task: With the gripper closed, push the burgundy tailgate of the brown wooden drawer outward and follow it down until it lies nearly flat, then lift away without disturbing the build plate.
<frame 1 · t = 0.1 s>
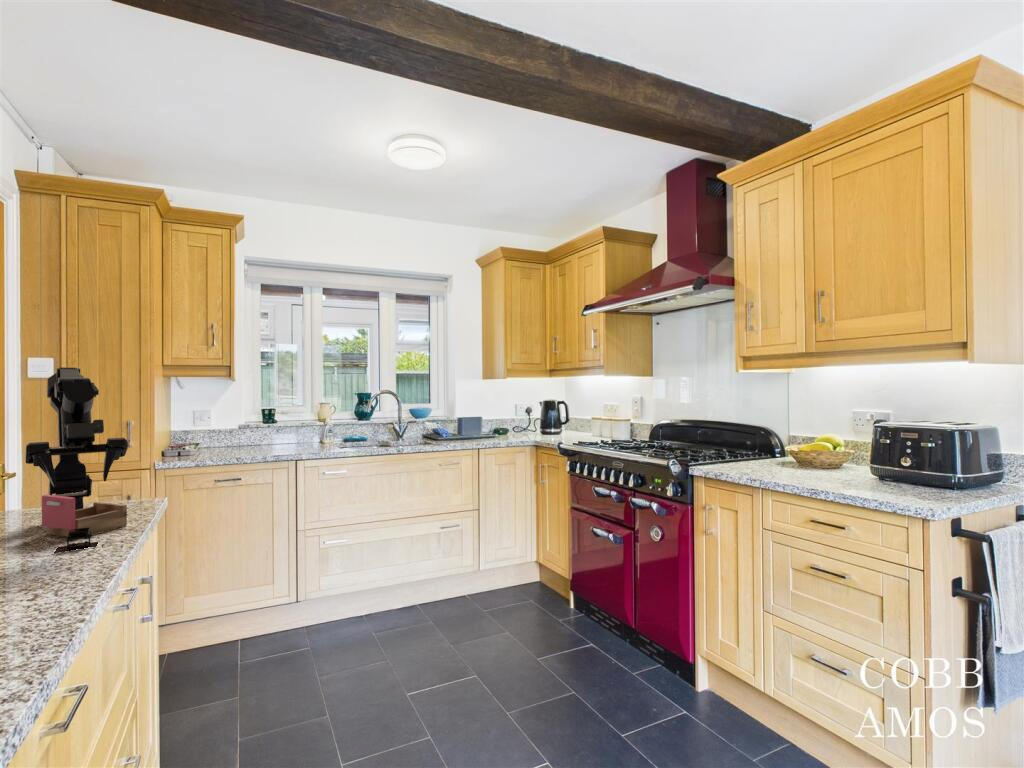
hand: (80, 483, 126), 15 cm above the countertop, tool tilted 30°, fingers open, 9 cm apart
tailgate: (56, 512, 133), point 6 cm above the countertop, hinge at 0.0°
brown wooden drawer: (88, 529, 140), on the countertop
build plate: (79, 550, 126), on the countertop
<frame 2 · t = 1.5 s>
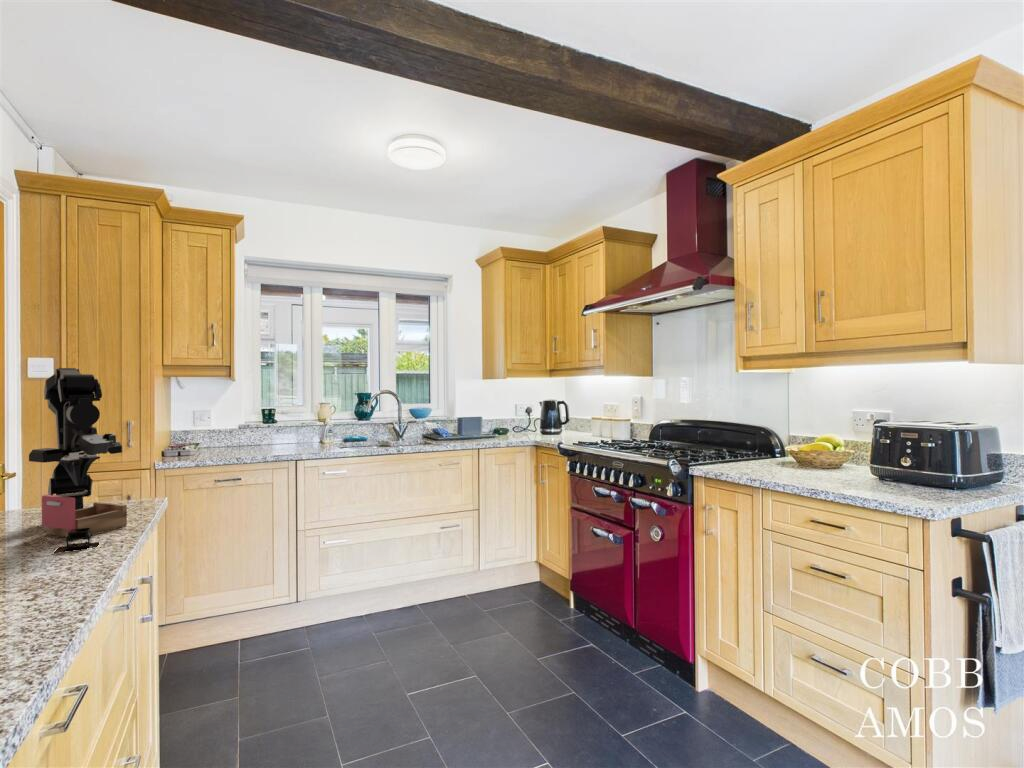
hand: (78, 485, 138), 12 cm above the countertop, tool pointing down, fingers closed
nothing on the countertop moved.
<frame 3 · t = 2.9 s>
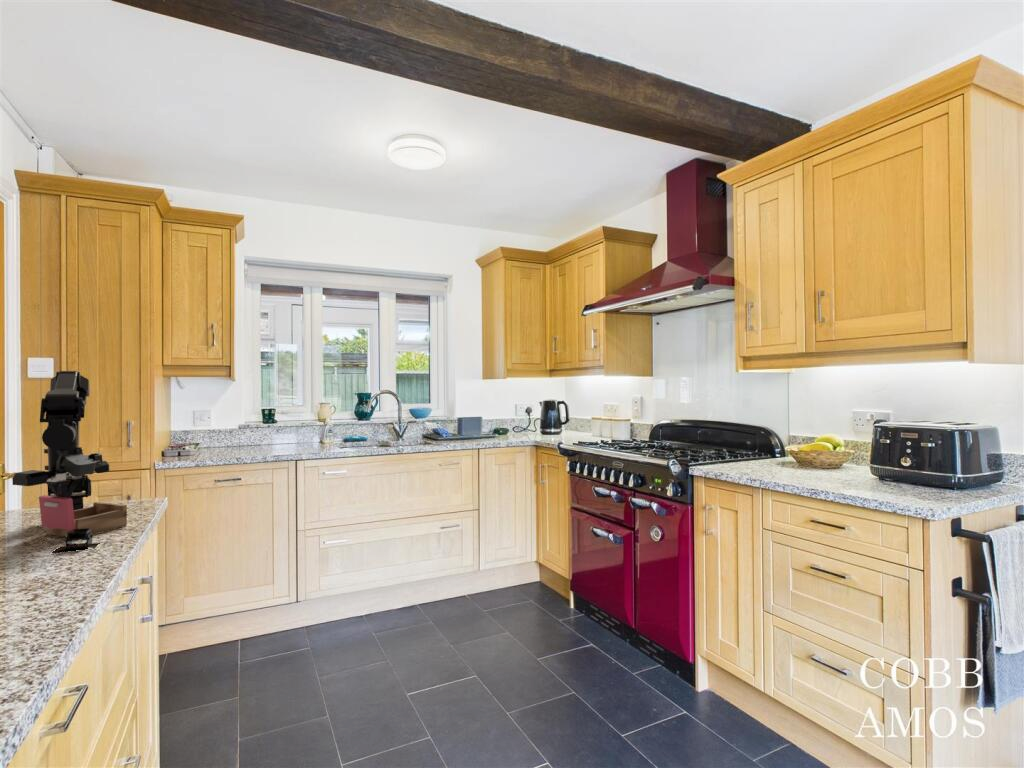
hand: (64, 506, 135), 7 cm above the countertop, tool pointing down, fingers closed
tailgate: (55, 513, 133), point 6 cm above the countertop, hinge at 5.1°, touching gripper
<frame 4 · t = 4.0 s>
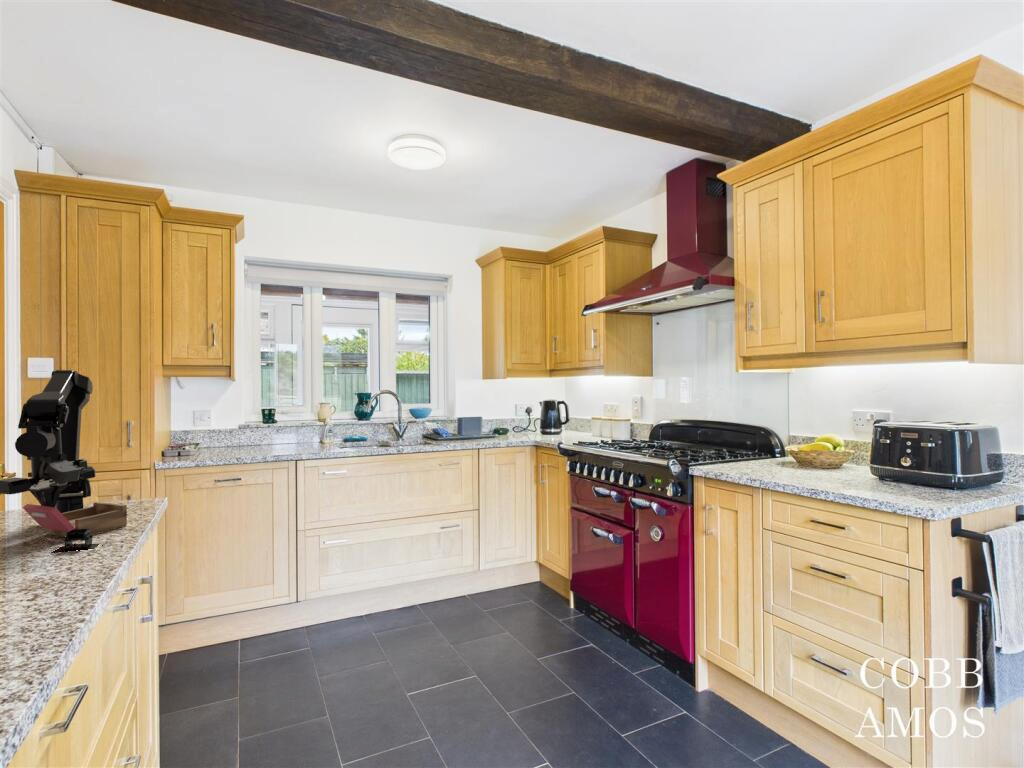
hand: (49, 514, 132), 6 cm above the countertop, tool pointing down, fingers closed, pressing on tailgate
tailgate: (47, 519, 131), point 5 cm above the countertop, hinge at 35.2°, touching gripper
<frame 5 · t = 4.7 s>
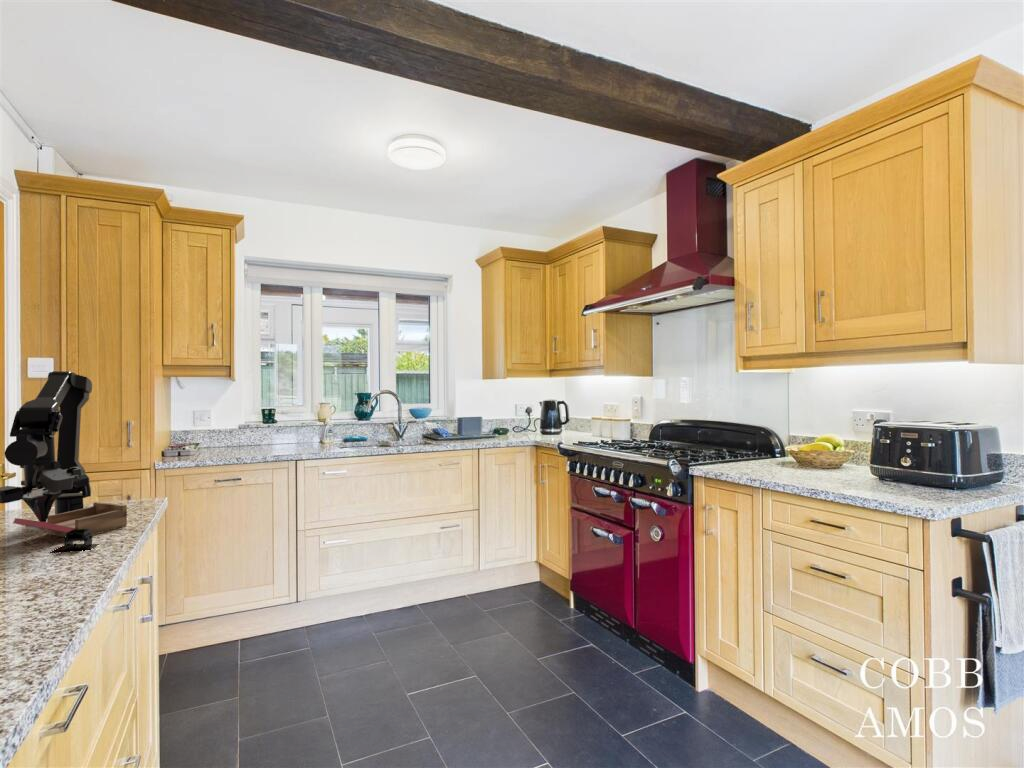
hand: (42, 522, 130), 4 cm above the countertop, tool pointing down, fingers closed, pressing on tailgate
tailgate: (43, 527, 130), point 3 cm above the countertop, hinge at 64.0°, touching gripper
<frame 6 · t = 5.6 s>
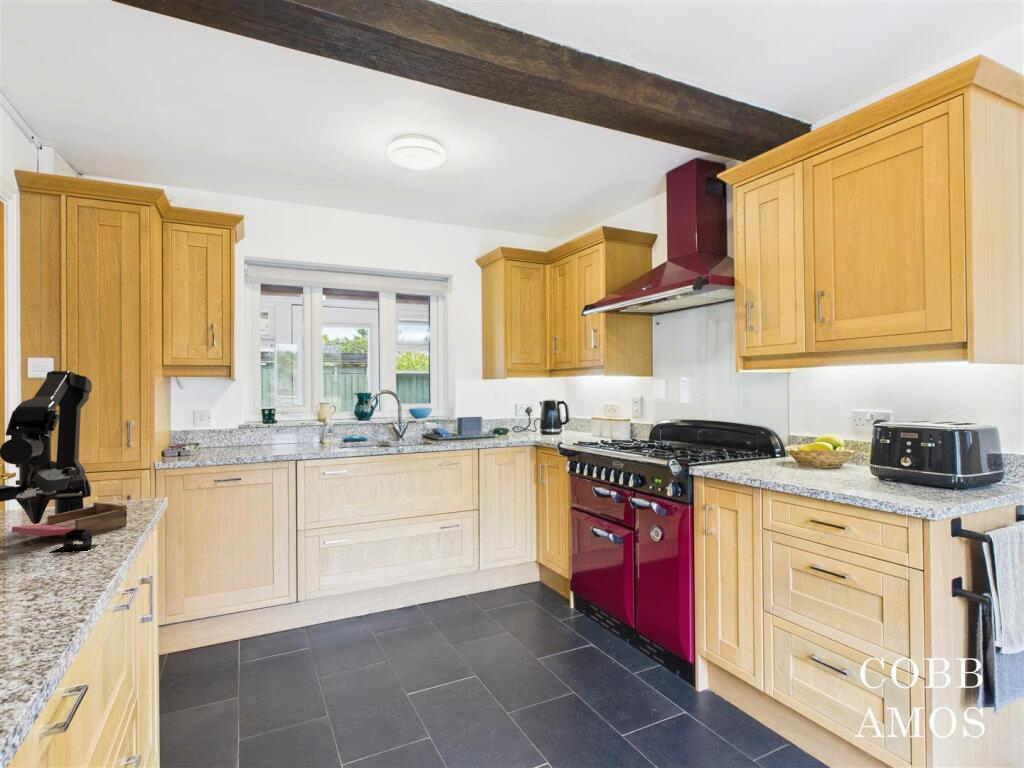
hand: (36, 523, 129), 5 cm above the countertop, tool pointing down, fingers closed
tailgate: (43, 531, 130), point 2 cm above the countertop, hinge at 79.3°
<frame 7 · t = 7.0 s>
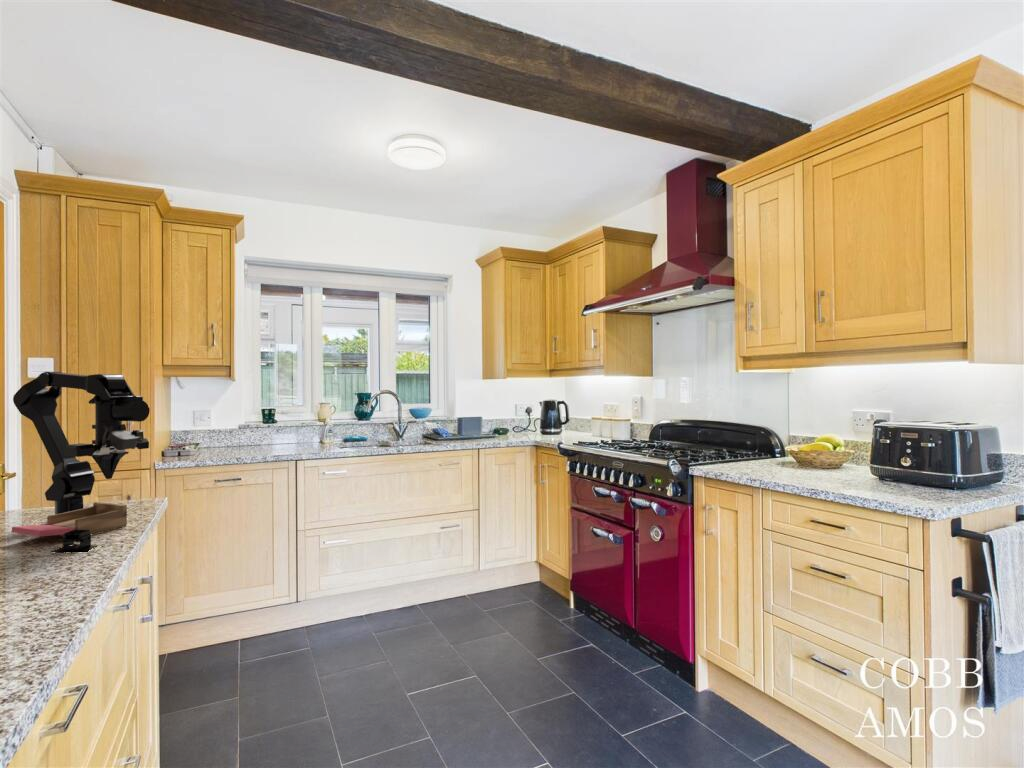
hand: (108, 478, 146), 12 cm above the countertop, tool pointing down, fingers closed
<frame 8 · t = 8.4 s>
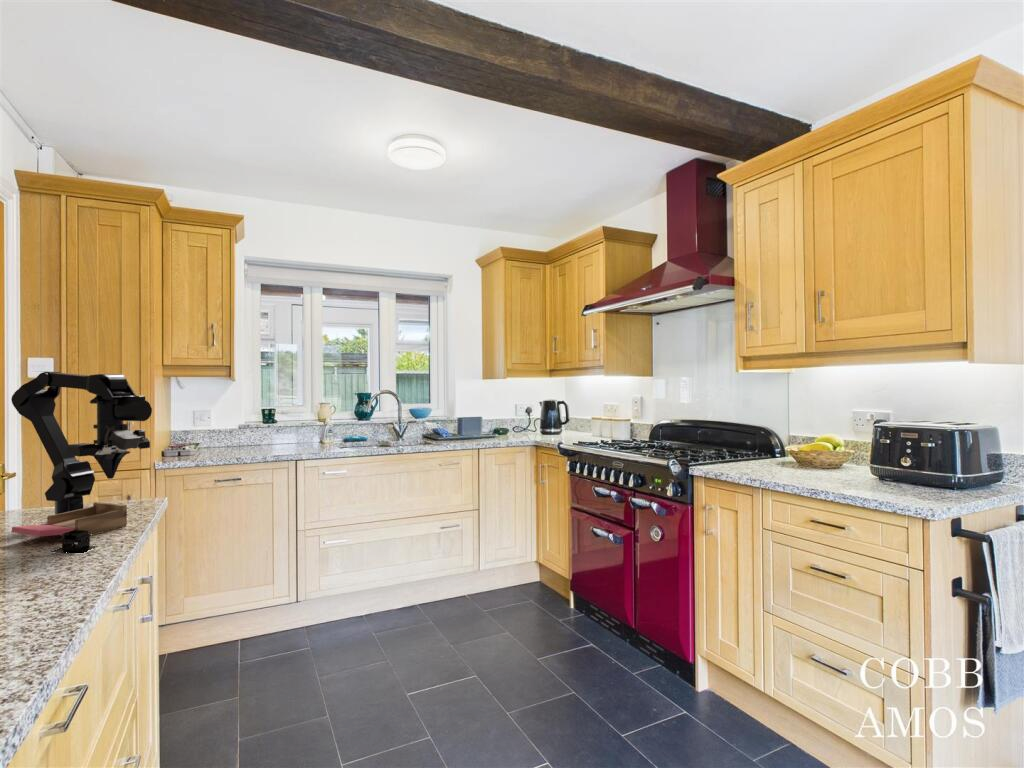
hand: (110, 478, 147), 12 cm above the countertop, tool pointing down, fingers closed
at the end: tailgate at +79° (first picture: +0°); build plate moved 2.0 cm from its start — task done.
